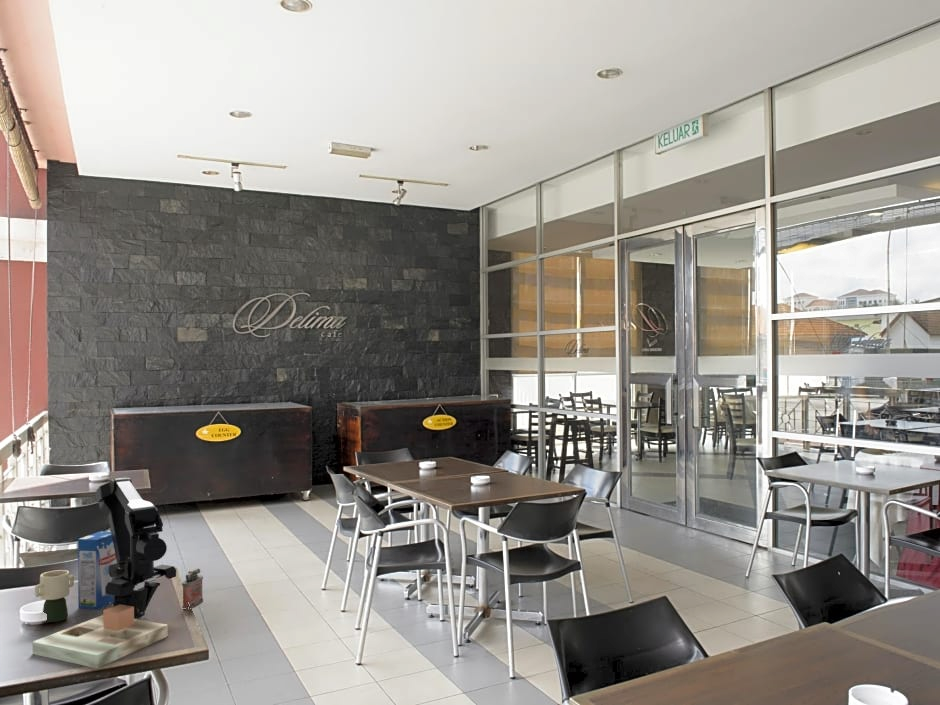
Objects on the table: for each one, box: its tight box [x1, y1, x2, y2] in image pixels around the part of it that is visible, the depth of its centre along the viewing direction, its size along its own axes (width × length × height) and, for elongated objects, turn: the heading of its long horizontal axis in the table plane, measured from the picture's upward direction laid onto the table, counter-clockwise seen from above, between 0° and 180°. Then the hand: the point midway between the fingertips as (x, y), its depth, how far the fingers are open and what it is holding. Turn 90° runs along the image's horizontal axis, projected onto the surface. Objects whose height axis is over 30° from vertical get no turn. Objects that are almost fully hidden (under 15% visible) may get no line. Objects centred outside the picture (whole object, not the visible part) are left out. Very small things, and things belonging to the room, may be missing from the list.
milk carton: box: [77, 530, 117, 611], centre depth 215 cm, size 10×6×20 cm, turn 170°
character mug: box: [34, 569, 75, 623], centre depth 200 cm, size 11×7×13 cm, turn 153°
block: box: [102, 604, 135, 631], centre depth 187 cm, size 5×5×4 cm
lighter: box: [181, 568, 204, 610], centre depth 212 cm, size 8×3×10 cm, turn 168°
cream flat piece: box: [32, 614, 169, 669], centre depth 183 cm, size 21×22×3 cm
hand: (142, 612), depth 194 cm, fingers closed
